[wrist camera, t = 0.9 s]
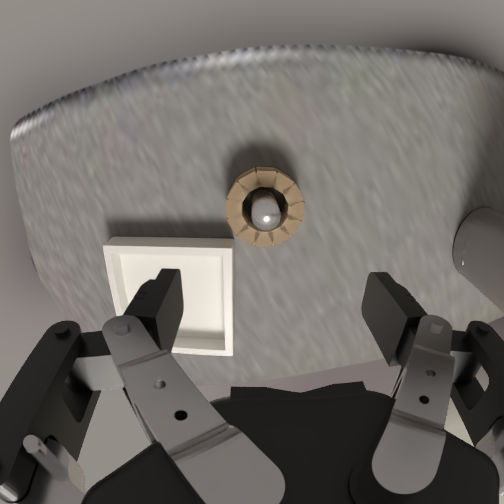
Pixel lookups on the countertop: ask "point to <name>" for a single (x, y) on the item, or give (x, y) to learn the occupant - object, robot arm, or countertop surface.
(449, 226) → the countertop surface
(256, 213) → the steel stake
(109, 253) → the white tray
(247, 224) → the oak ring
